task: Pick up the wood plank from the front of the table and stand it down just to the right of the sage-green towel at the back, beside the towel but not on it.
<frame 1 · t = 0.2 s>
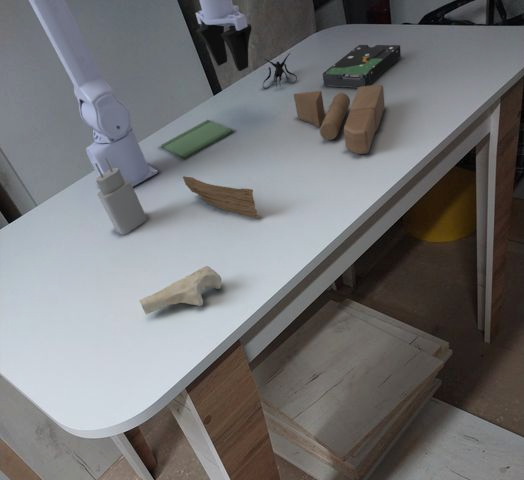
hand: (232, 66, 103), 10 cm above the table, tool pointing down, fingers open, 7 cm apart
bone fragment: (185, 303, 73), on the table
wood plank: (226, 209, 87), on the table
wooden block set: (331, 135, 96), on the table
creature: (280, 83, 119), on the table
power adapter: (132, 225, 91), on the table
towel: (197, 139, 108), on the table
disk drive: (362, 73, 112), on the table
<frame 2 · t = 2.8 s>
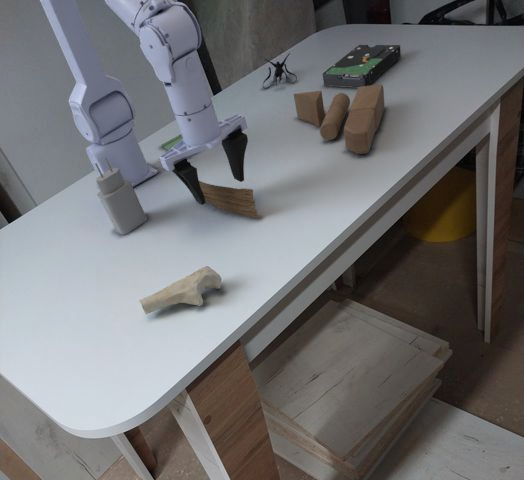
hand: (220, 190, 84), 3 cm above the table, tool pointing down, fingers open, 7 cm apart
nothing on the table moved.
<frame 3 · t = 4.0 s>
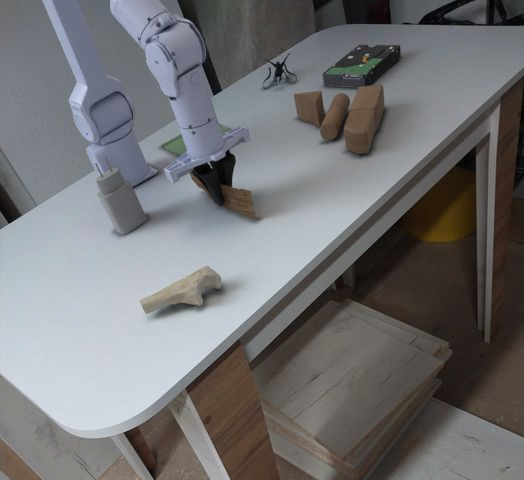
hand: (223, 200, 86), 1 cm above the table, tool pointing down, fingers closed on wood plank, 1 cm apart
wood plank: (228, 207, 87), on the table, touching gripper
everything else where it was.
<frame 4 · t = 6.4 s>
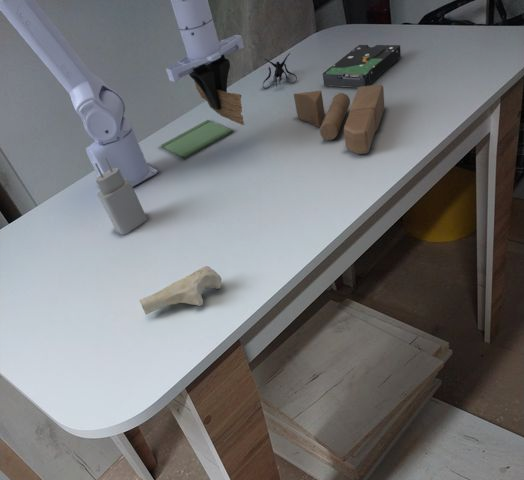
hand: (219, 106, 95), 8 cm above the table, tool pointing down, fingers closed on wood plank
wood plank: (224, 116, 96), point 7 cm above the table, touching gripper
everything else where it was.
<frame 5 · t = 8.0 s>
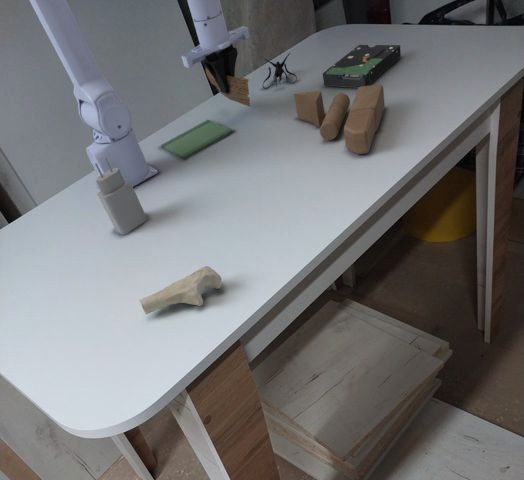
hand: (228, 90, 107), 6 cm above the table, tool pointing down, fingers closed on wood plank
wood plank: (232, 99, 108), point 4 cm above the table, touching gripper
everything else where it was.
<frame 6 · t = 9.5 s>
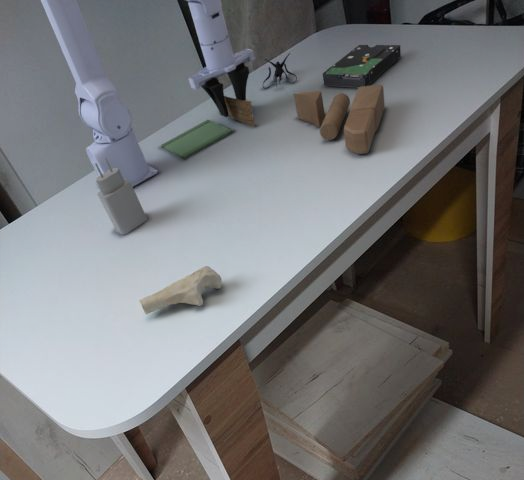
hand: (233, 110, 110), 2 cm above the table, tool pointing down, fingers open, 4 cm apart
wood plank: (237, 119, 111), on the table
everything else where it was.
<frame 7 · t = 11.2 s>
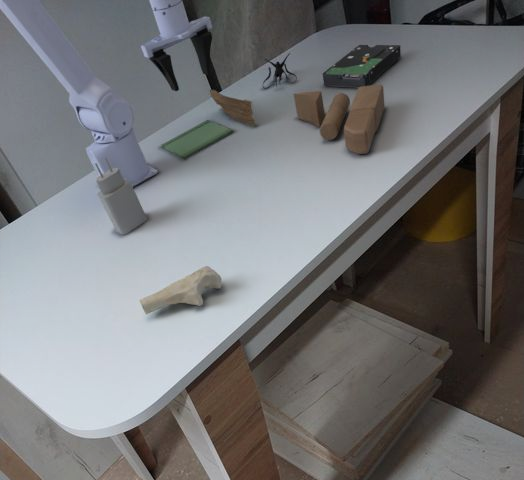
hand: (191, 81, 105), 9 cm above the table, tool pointing down, fingers open, 7 cm apart
nothing on the table moved.
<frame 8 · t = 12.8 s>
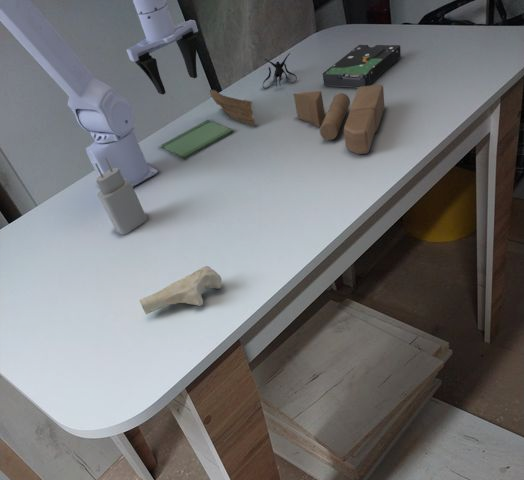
hand: (178, 85, 105), 9 cm above the table, tool pointing down, fingers open, 7 cm apart
nothing on the table moved.
at the end: wood plank inside the target area on the table beside the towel (0.5 cm from its centre), on the table; wood plank tilted 0°; the gripper is holding nothing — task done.
